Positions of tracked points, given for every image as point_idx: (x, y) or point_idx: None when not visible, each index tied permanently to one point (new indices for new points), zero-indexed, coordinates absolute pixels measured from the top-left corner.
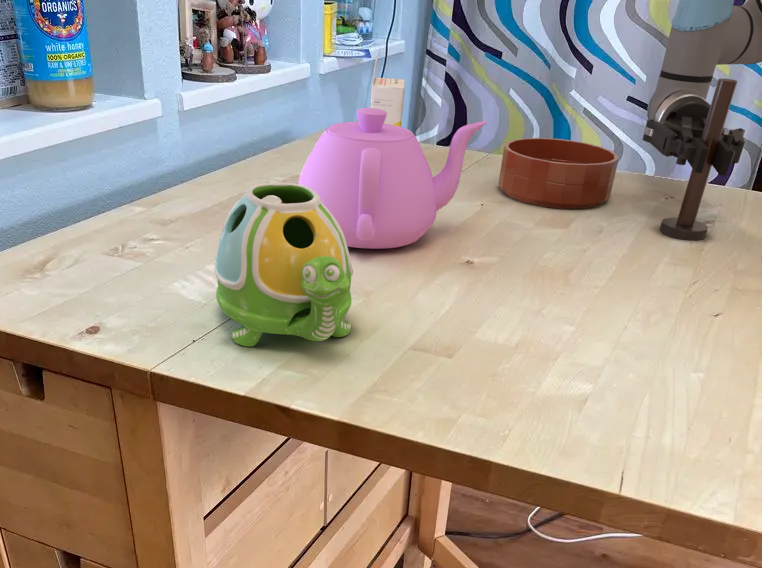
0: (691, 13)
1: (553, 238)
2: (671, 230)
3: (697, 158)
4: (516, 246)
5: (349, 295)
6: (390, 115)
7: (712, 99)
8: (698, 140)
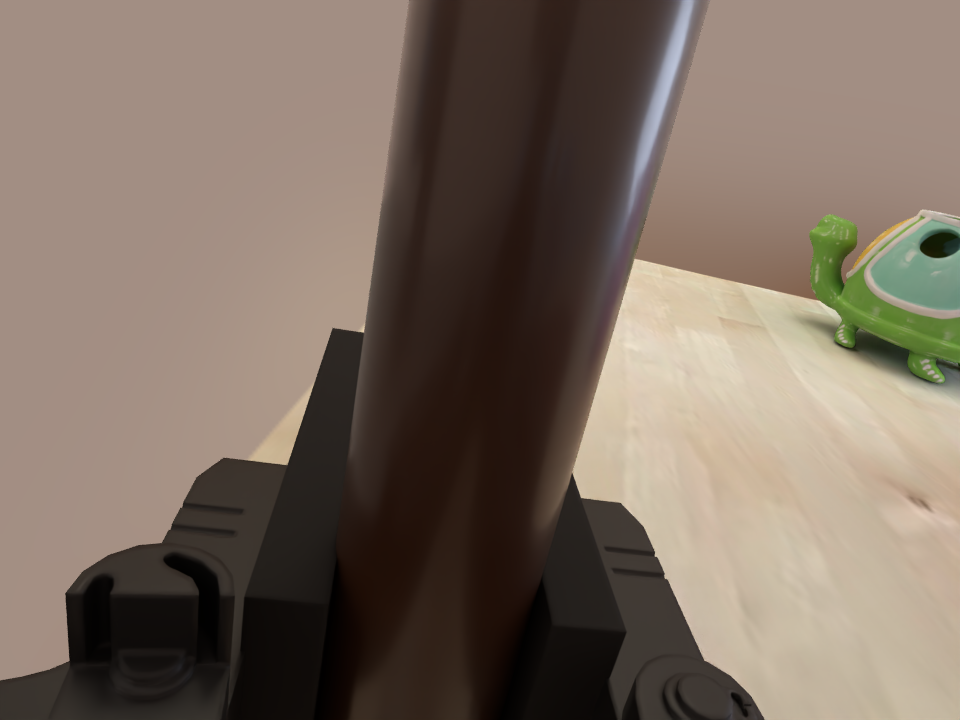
0: None
1: (907, 710)
2: None
3: None
4: (931, 608)
5: (861, 311)
6: None
7: (663, 136)
8: (564, 521)
